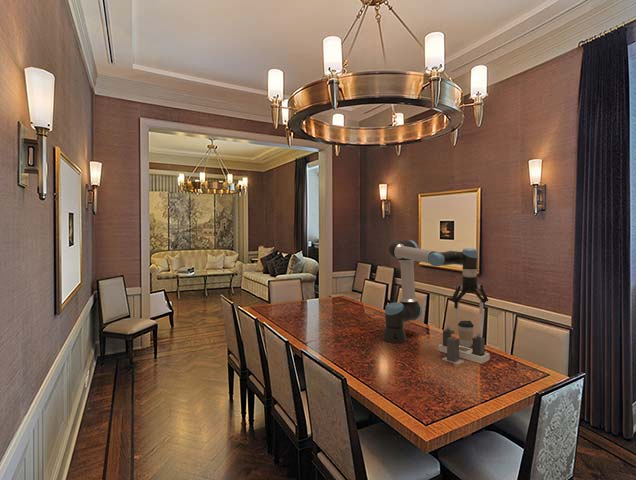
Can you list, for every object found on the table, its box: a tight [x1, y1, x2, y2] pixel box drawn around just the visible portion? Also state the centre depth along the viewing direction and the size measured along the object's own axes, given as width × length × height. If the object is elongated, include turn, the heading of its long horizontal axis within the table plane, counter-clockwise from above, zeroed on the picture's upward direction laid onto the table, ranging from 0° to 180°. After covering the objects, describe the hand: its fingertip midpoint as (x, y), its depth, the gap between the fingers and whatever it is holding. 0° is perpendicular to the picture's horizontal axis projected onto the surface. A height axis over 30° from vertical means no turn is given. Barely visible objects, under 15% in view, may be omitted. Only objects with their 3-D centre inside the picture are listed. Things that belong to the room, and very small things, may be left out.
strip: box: [437, 325, 491, 365], centre depth 200 cm, size 26×9×15 cm, turn 39°
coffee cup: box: [457, 320, 475, 348], centre depth 217 cm, size 9×9×15 cm
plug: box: [446, 333, 460, 363], centre depth 193 cm, size 4×4×14 cm
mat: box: [441, 356, 465, 365], centre depth 193 cm, size 10×7×1 cm
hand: (469, 313), depth 197 cm, fingers open, 13 cm apart
